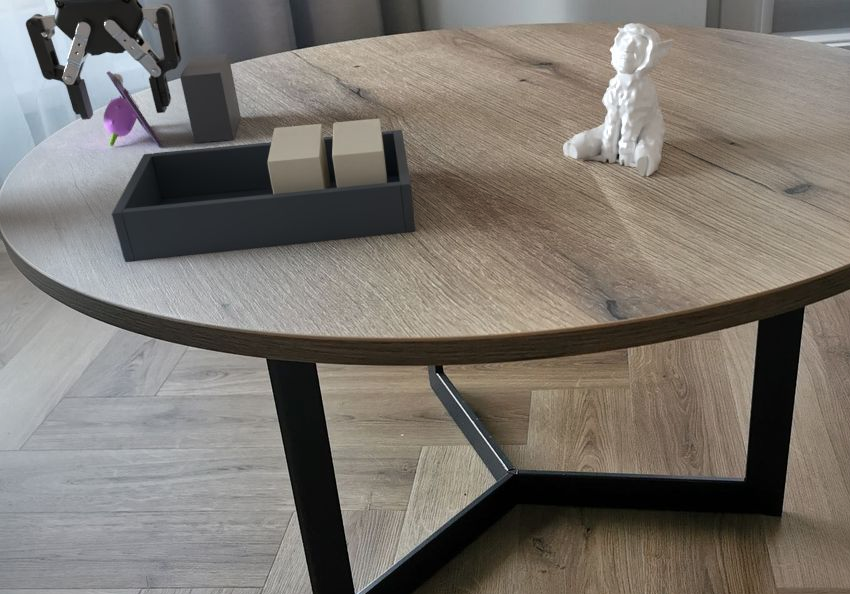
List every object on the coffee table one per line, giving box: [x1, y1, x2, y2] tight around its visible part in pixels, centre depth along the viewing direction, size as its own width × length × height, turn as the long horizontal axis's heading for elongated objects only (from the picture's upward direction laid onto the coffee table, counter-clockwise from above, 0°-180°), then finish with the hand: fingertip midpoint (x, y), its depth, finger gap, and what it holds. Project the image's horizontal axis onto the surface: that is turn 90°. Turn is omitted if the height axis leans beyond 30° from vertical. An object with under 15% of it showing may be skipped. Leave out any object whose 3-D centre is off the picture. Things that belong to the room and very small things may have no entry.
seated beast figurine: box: [562, 22, 675, 177], centre depth 87 cm, size 10×9×12 cm
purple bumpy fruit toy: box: [103, 70, 163, 148], centre depth 100 cm, size 7×5×9 cm
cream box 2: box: [332, 118, 388, 188], centre depth 80 cm, size 4×8×6 cm, turn 8°
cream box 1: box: [268, 123, 331, 194], centre depth 80 cm, size 4×8×6 cm, turn 8°
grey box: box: [179, 53, 242, 144], centre depth 102 cm, size 4×8×7 cm, turn 8°
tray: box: [111, 129, 416, 263], centre depth 80 cm, size 23×14×5 cm, turn 98°
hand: (125, 113), depth 100 cm, fingers open, 7 cm apart
